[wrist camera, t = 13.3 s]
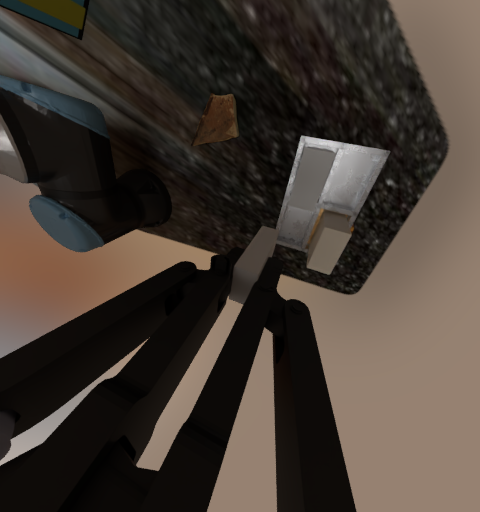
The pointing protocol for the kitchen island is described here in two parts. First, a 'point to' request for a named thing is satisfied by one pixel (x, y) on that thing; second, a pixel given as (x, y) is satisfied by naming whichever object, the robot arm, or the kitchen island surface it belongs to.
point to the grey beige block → (328, 241)
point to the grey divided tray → (330, 189)
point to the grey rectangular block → (311, 177)
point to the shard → (217, 120)
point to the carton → (53, 13)
